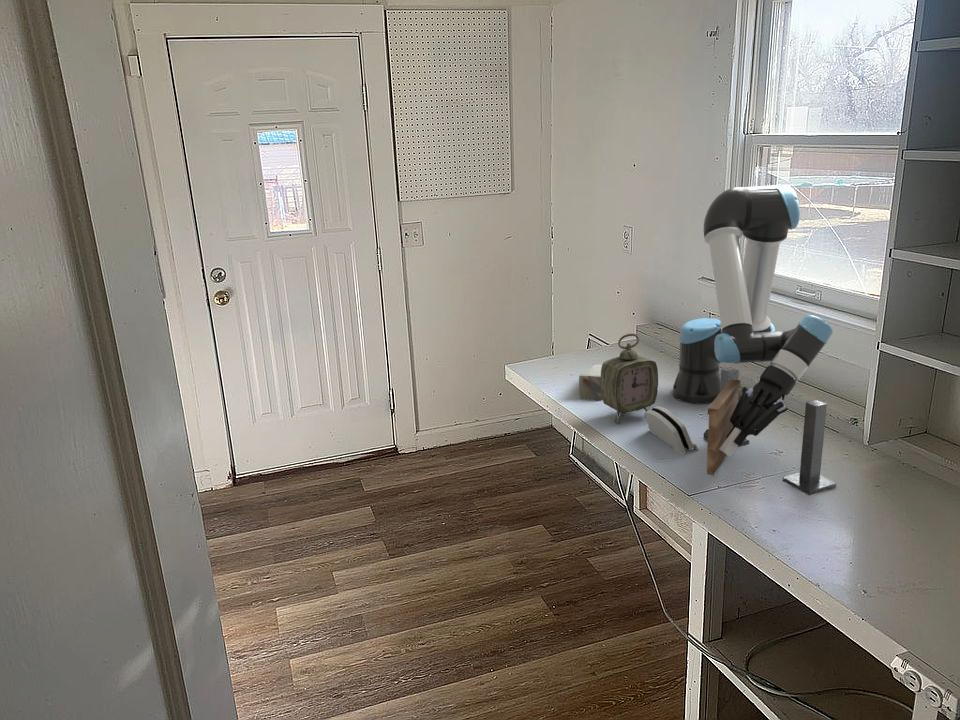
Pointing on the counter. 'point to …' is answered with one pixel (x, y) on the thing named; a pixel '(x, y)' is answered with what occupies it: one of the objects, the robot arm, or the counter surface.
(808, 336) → the robot arm
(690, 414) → the counter surface
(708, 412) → the gate leaf
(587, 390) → the block
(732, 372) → the gate frame
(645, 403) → the tabletop clock
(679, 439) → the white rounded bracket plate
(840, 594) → the counter surface
